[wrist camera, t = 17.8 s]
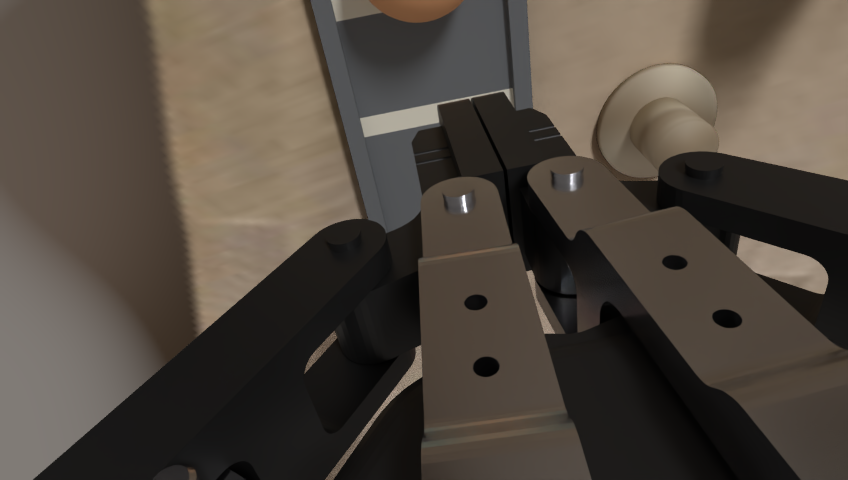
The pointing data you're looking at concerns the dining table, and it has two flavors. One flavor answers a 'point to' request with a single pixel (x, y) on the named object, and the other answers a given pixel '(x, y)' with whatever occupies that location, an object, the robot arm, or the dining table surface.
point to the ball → (416, 9)
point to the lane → (415, 84)
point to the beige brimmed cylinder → (657, 119)
